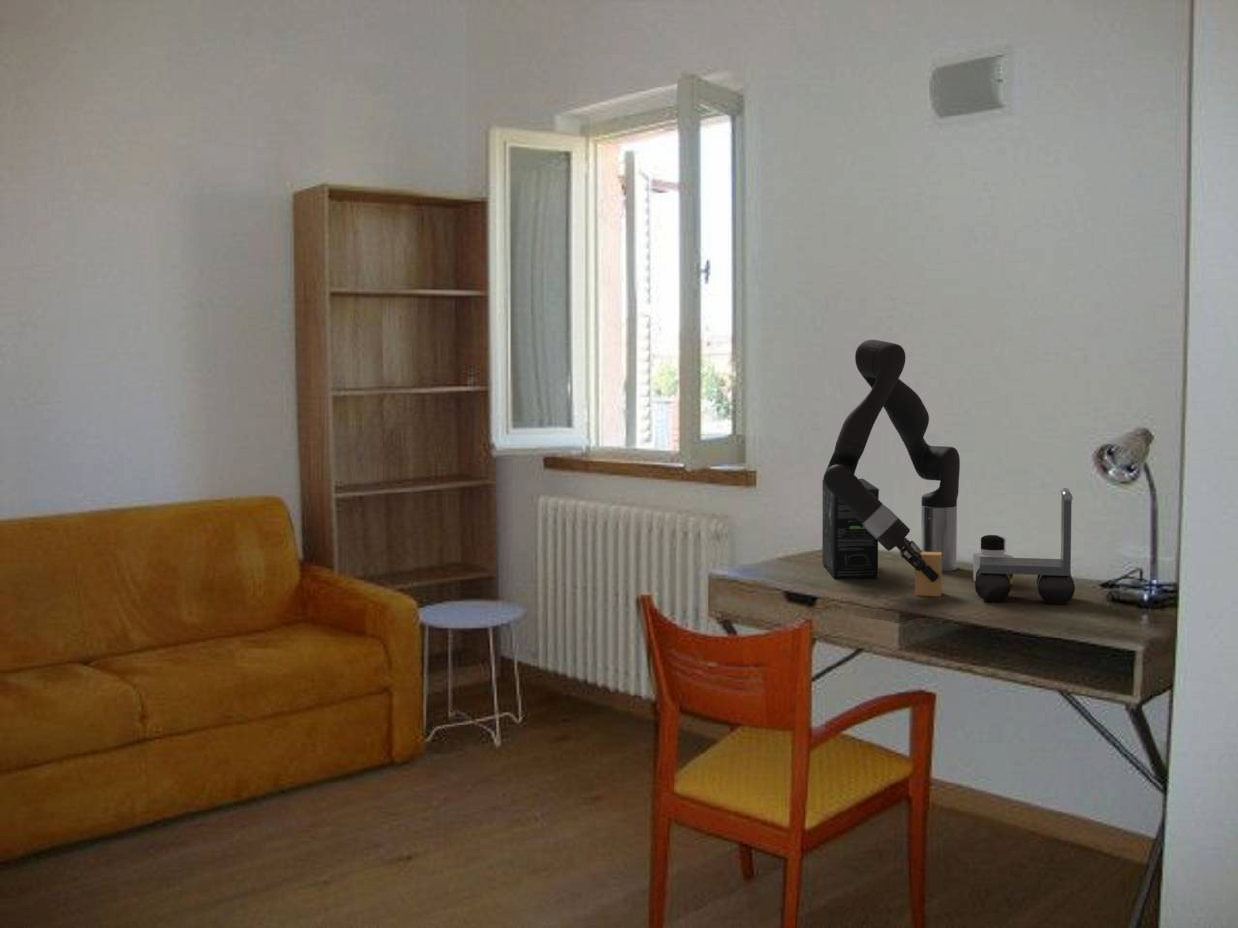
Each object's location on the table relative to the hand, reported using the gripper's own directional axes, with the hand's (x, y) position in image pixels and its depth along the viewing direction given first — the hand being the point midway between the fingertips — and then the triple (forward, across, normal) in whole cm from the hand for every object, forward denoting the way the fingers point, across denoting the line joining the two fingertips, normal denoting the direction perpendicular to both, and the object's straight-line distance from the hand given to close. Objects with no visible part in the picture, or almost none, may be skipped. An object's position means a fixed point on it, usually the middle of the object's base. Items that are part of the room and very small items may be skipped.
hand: (936, 577), depth 298 cm
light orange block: (+2, 0, +4) cm, 5 cm away
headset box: (-14, +27, +20) cm, 36 cm away
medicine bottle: (+12, +18, -6) cm, 23 cm away
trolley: (+17, -2, -11) cm, 21 cm away
